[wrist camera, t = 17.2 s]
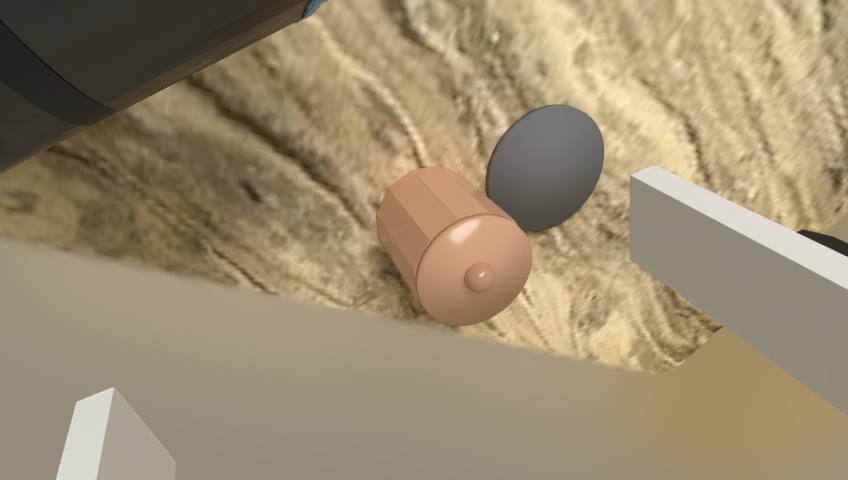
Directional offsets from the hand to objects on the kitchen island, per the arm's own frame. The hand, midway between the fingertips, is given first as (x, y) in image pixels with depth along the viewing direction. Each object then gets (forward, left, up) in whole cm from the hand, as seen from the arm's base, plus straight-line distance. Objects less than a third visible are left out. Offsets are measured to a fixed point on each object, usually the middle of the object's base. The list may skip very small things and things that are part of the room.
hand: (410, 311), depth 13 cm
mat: (+22, -17, -32) cm, 42 cm away
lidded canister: (+9, -17, -32) cm, 37 cm away
